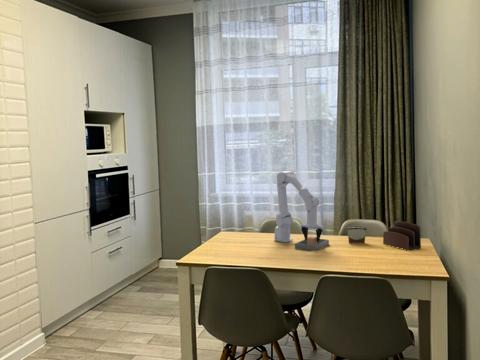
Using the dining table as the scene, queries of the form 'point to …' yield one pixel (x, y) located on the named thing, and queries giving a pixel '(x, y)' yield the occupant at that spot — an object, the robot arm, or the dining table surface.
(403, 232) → the letter holder
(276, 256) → the dining table surface
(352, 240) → the food container
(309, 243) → the terracotta block
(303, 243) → the baking dish
